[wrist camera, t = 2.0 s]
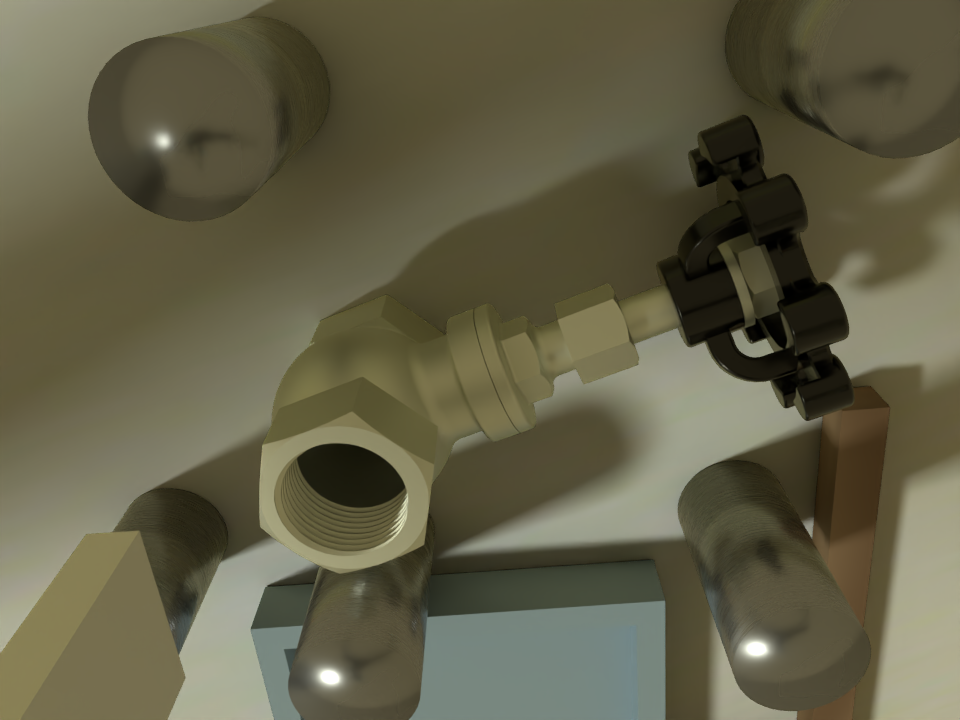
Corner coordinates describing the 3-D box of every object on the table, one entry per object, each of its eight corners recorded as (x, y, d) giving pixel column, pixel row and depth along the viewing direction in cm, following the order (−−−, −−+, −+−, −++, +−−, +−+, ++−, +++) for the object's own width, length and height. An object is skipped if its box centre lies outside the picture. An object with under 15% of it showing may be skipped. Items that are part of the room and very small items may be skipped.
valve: (364, 483, 24) (778, 334, 22) (324, 651, 18) (887, 469, 16) (251, 279, 22) (707, 91, 20) (162, 397, 16) (804, 144, 14)
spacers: (143, 590, 26) (50, 757, 20) (-33, 45, 19) (-236, 75, 14) (815, 542, 25) (908, 703, 19) (867, -44, 18) (1028, -49, 13)
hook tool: (690, 768, 29) (699, 799, 28) (696, 399, 23) (707, 421, 22) (829, 760, 29) (843, 791, 27) (870, 386, 23) (890, 407, 22)
